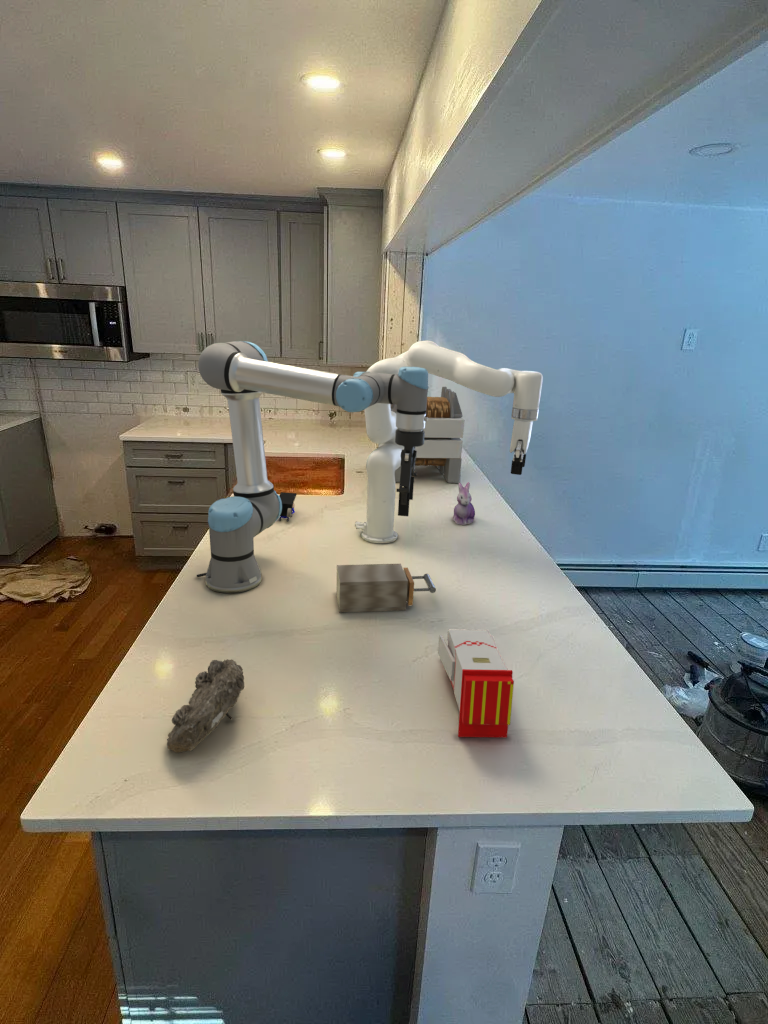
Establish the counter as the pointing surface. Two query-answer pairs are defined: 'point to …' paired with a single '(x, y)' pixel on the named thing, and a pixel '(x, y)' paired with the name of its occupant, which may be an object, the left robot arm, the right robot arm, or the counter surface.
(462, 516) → the figurine
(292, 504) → the figurine character
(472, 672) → the toy
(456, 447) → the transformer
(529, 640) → the counter surface
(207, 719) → the fossil
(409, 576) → the drawer
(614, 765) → the counter surface
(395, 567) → the grey boxy block
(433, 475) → the counter surface
